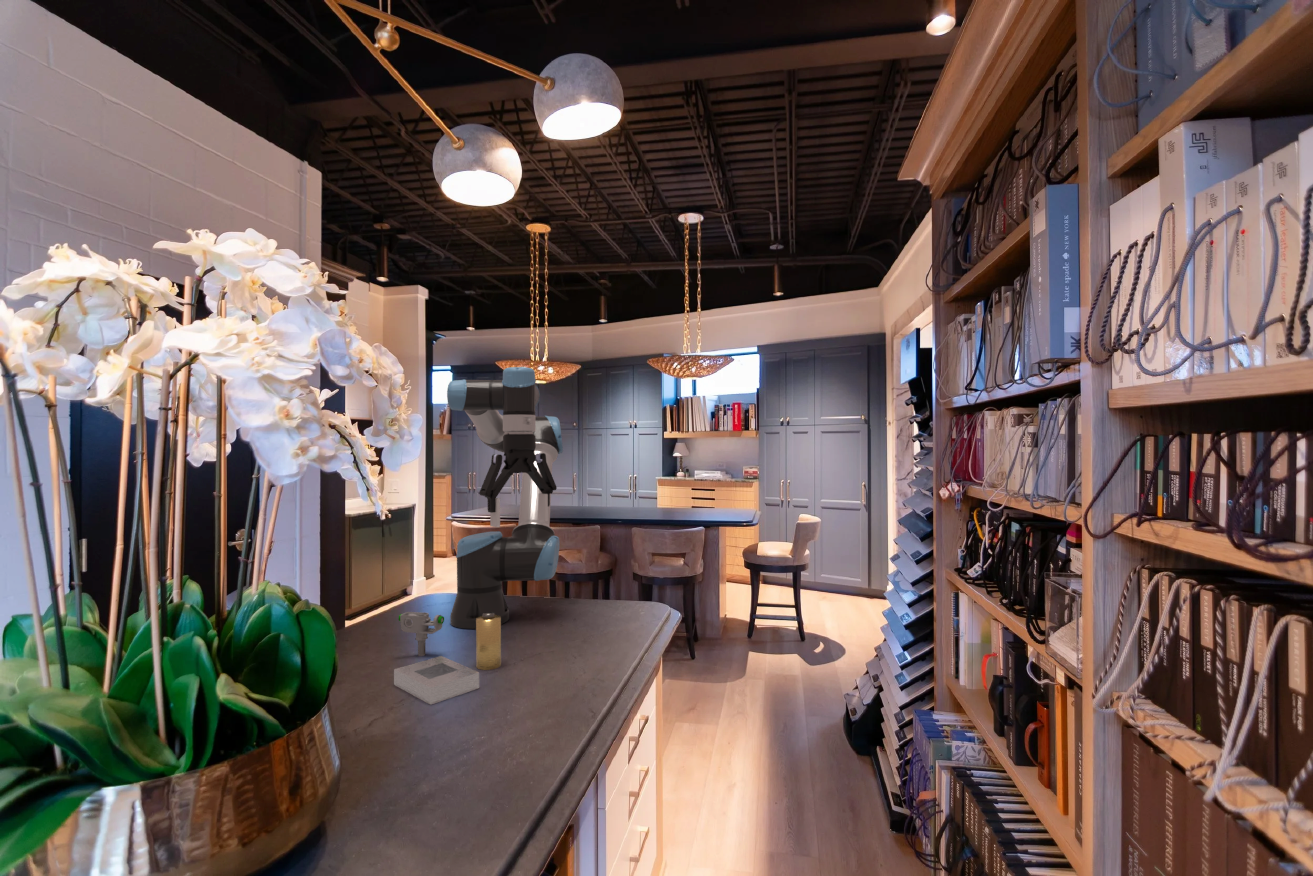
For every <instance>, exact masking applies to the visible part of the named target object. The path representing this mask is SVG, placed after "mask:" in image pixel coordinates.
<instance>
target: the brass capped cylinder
mask: <svg viewBox="0 0 1313 876" xmlns="http://www.w3.org/2000/svg"><path fill="white" fill-rule="evenodd" d="M501 628H502V624H501V617H500V616H498V615H494V612H485V613H483V616H480V617H478V618H476V629H475V630H476V632H475V635H476V638H475V639H476V641H475V642H476V646H475V647H476V650H475V651H476V653H475V655H476V660H475V661H476V669H478V670H481V671H491V670H496V669H498V668H500V667H501V666H502V632H501V631H502V629H501Z"/></svg>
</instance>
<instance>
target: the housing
mask: <svg viewBox="0 0 1313 876" xmlns="http://www.w3.org/2000/svg"><path fill="white" fill-rule="evenodd" d="M393 686H395V687H396V688H399V689H400V690H402V691H404V692H406V693H408V694H410V695H412V696H413V697H415V698H417V699H419V700H421V701H422V702H425V703H426V704H427V705H431V706H432V705H435V704H437V703H440V702H443V701H446V700H449V699H453V698H455V697H457V696H461V695H464V694H466V693H470V692H473V691H475V690H478V689H480V672H479V671H477V670H475V669H473V668H471V667H467V666H465V665H464V664H461V663H459V662H456V661H454V660H452V659H449V658H447V657H445V656H443V655H439V656H436V657H432V658H429V659H425V660H422V661H419V662H415V663H412V664H411V663H410V664H409V665H405V666H401V667H396V668H394V669H393Z"/></svg>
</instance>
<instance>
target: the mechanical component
mask: <svg viewBox="0 0 1313 876" xmlns="http://www.w3.org/2000/svg"><path fill="white" fill-rule="evenodd" d="M398 621H399V623H400V629H401V631H402V632H404V633H413V634H415V641H417V656H418V657H424V656H426V641H427V640H428V638H429V636H428V634H429V635H433V634H434V633H437V632H438V631H441V630H442V628H443V624H444V623H445V616H443V615H441V614H436V615H435V616H434V618H433V620H431V616H430V615H429V612H417V611H406V612H404V613H400V614H399V615H398ZM432 627H433V628H432Z"/></svg>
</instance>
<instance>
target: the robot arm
mask: <svg viewBox="0 0 1313 876" xmlns="http://www.w3.org/2000/svg"><path fill="white" fill-rule="evenodd" d="M536 381H537V380H536V372H535V369H533V368H531V367H522V366H513V367H512V366H511V367H505V369H504V370H503V371H502V379H496V380H495V379H487V380H486V379H456V380H451V381H449V383H448V386H447V391H446V397H447V405H448V408H449V409H450V410H452V411H459V412H460V411H461V412H462V411H464V412H465V413H466V415H467V416H468V417H469V419H470V421H471V422H472V423H473V425H474V426H475V428H476V429H475V430H476V435H477V436H478V438H479V440H480V441H481V442H482V443H484V444H485V445H486V446H487V447H489V448H491V449H492V450H496V451H497V452H500V453H503V455H502V454H498V453H497V454H496V453H495V454H492V455H491V460H490V466H489V467H488V470H487V474H486V475H485V478H484V481H483V483H482V485H481V486H480V487H481V488H480V490H479V493H478V494H479V496H483V497H484V498H486V499H487V512H488V513H490V514H489V516H490V520H489V521H490V527H492V528H501V502H500V501H501V500H500V499H501V498H499V497H498V496H499V495H500V493H501V491H502V490H503V488H504V486H506V484H507V482H508V480H509V479H510V478H511V477H512V476H513V475H514V474H521V473H522V478H521V490H520V502H519V503H520V504H519V512H518V515H519V516H518V525H517V526H515V527H514V528H513V530H512V532H511V536H507V537H506V536H504V535H503V533H502V532H501V531H499V530H497V531H485V532H481V533H475V534H470V535H467V536H465V537H462V538H460V539H459V540H458V542H457V544H456V545H457V546H456V549H457V550H456V556H455V558H456V591H457V592H456V596H455V599H454V602H453V605H452V608H451V611H450V617H449V619H450V620H449V621H450V625H451V626H453V627H454V628H459V629H466V630H467V629H469V630H470V629H473V630H476V618H478V617H480V616H483V613H485V612H494V615H498V616H500V617H501V625H503V624H505V623H507V622H508V621H509V620H510V610H509V607H508V603H507V600H506V598H505V595H504V591H503V582H523V581H524V582H526V581H532V582H534V581H535V582H538V581H546V580H551V579H552V578H553V577H554V576H555V575H556V571H557V568H558V564H559V557H560V545H561V544H560V543H561V542H560V537H559V536H557V535H555V534H556V533H555V531H554V529H553V528H552V527H551V526H550V521H551V503H552V502H551V499H552V494H553V492H554V491H557V489H558V487H557V484H556V482H555V480H554V477H553V463H554V462H556V461H557V460H558V455H560V454H562V453H563V452H564V447H563V446H564V445H563V436H562V427H561V423H560V422H561V421H560V419H559V418H558V417H557V416H548V415H543V416H536V407H537V406H538V404H539V402H540V398H541V395H540V389H539V388H538V385H536ZM499 411H502V414H500V412H499ZM502 464H504V466H503V468H502ZM499 473H500V474H499Z"/></svg>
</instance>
